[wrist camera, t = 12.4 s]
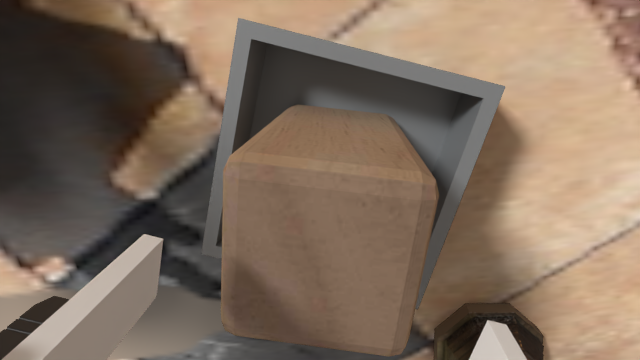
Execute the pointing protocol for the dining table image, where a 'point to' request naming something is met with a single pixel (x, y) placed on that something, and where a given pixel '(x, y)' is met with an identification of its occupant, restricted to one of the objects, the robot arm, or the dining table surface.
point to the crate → (358, 95)
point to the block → (326, 231)
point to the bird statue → (468, 323)
